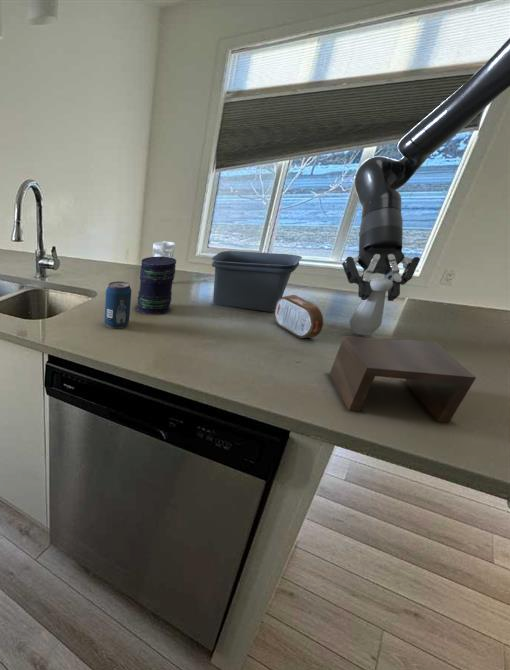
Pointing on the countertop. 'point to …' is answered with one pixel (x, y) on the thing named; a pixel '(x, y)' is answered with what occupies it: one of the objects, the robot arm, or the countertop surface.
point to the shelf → (401, 372)
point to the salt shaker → (371, 308)
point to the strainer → (163, 249)
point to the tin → (298, 316)
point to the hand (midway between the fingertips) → (378, 298)
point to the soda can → (117, 304)
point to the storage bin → (251, 278)
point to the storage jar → (156, 285)
